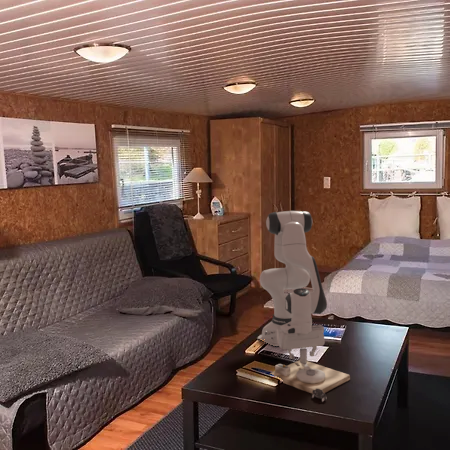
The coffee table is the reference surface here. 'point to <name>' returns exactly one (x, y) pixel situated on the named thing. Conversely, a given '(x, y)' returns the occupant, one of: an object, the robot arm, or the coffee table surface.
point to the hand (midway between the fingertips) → (301, 356)
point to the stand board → (330, 382)
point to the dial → (308, 370)
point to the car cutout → (319, 394)
